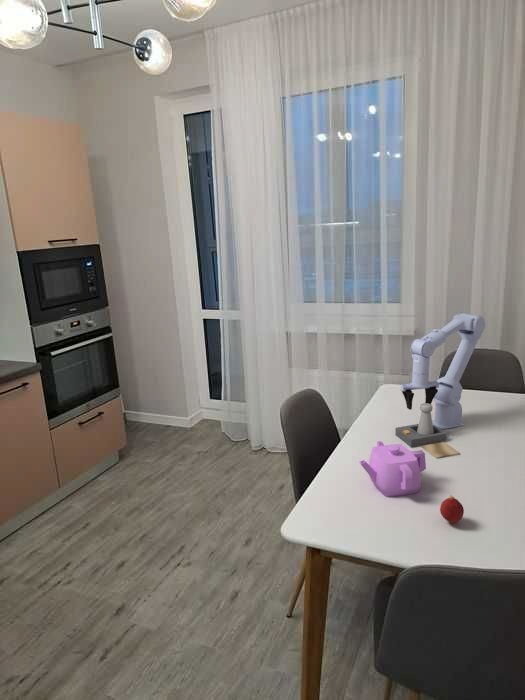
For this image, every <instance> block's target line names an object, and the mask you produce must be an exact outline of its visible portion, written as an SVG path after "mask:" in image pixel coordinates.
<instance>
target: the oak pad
mask: <svg viewBox="0 0 525 700" xmlns="http://www.w3.org/2000/svg"><path fill="white" fill-rule="evenodd" d="M421 448H422V449H423V450H424V451H426V452H427V453H428V454H429V455H431V456H433V458H435V459H442V458H447V457H454V456H458V455H461V452H460V451H458V450H456V449H455V448H453V447H452V446H450V445H449V444H448V443H446V442H440V443H434V444H429V445H423V446H421Z"/></svg>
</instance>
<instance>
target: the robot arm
mask: <svg viewBox="0 0 525 700" xmlns="http://www.w3.org/2000/svg"><path fill="white" fill-rule="evenodd" d="M485 328H486V322H485V318H484V317H483V315H476V314H471V313H470V314H469V313H465V312H458V313H457V314H456V315H453V317H452V320H450V322H448V323H447V324H446V325H445V326H444V327H442V328H440V329H439V328H437V329H435V328H434V329H432V330H431V332H429V333H428V334H426V335H424V336H423V337H421V338H416V339H414V340H413V341H412V342H411V343H410V344H411V345H410V347H409V351H410V353H411V358H412V374H411V382H408V383H405V384H400V386H399V387H400V391H401V393H402V395H403V398H404V400H405V403H406V409H408V410H412V408H413V399H414V396H415V393H414V392H413V391H414V390H423V389H424V393H425V398H424V399H425V402H424V403H429V404H431V405H432V402H434V419H432V424H433V425H434V426H436V427H437V428H439V429H440V430H447V429H450V428H457V427H463V425H464V424H463V423H462V421H463V407H462V404H461V403H460V400H461V397H462V392H463V390H464V388H463V387H462V385H461V383H460V380H461V379H462V376H463V374H464V372H465V369H466V368H467V365H468V363H469V361H470V359H471V356H472V355H473V352H474V351H475V348H476V346H477V344H478V342H479V340H480V339H481V336H482V334H483V332H484V330H485ZM455 333H457V334H458V335H459V337H461V341H460V344H459V346H458V348H457V350H456V352H455V354H454V356H453V358H452V361H451V362H450V364H449V367H448V370H447V371H446V374H445V376H442V377H440V378H438V379H437V380H435V381H432V380H431V381H429V379H430V378H429V377H430V375H429V374H430V360H431V357H432V356H433V354H434V352H435V351H436V350H437V348H439V347H440V346H442V345H443V344H445V342H446V341H447V338H448V337H450V336H452V335H453V334H455Z"/></svg>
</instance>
